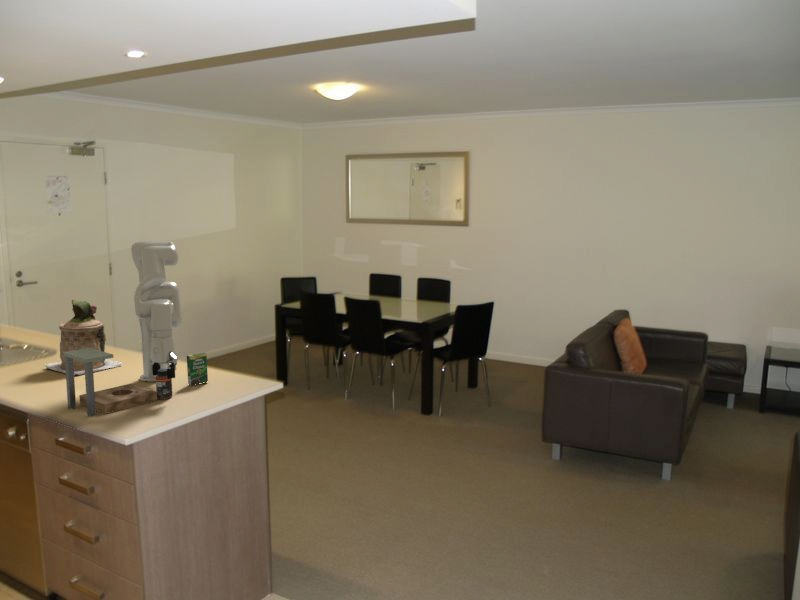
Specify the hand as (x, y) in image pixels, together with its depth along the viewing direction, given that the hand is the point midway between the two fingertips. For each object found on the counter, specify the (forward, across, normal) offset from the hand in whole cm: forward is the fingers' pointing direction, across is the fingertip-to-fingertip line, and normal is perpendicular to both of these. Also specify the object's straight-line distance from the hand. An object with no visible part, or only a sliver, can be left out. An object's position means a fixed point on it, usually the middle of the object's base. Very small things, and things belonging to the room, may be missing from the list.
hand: (163, 376), depth 253 cm
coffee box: (+8, -7, +20) cm, 23 cm away
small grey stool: (+9, -9, -25) cm, 28 cm away
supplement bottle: (+9, -1, 0) cm, 9 cm away
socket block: (+9, -9, -14) cm, 19 cm away
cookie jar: (+7, -71, +5) cm, 71 cm away
